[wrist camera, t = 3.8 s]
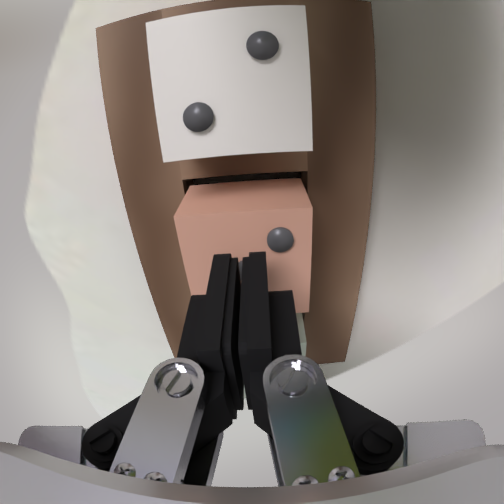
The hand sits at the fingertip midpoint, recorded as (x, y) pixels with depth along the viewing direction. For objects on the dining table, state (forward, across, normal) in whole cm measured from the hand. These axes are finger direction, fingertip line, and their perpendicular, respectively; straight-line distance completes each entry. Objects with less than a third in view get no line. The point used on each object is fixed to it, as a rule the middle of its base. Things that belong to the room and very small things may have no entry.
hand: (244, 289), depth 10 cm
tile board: (+6, 0, 0) cm, 6 cm away
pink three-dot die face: (+4, 0, 0) cm, 4 cm away
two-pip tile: (+4, 0, -6) cm, 8 cm away
